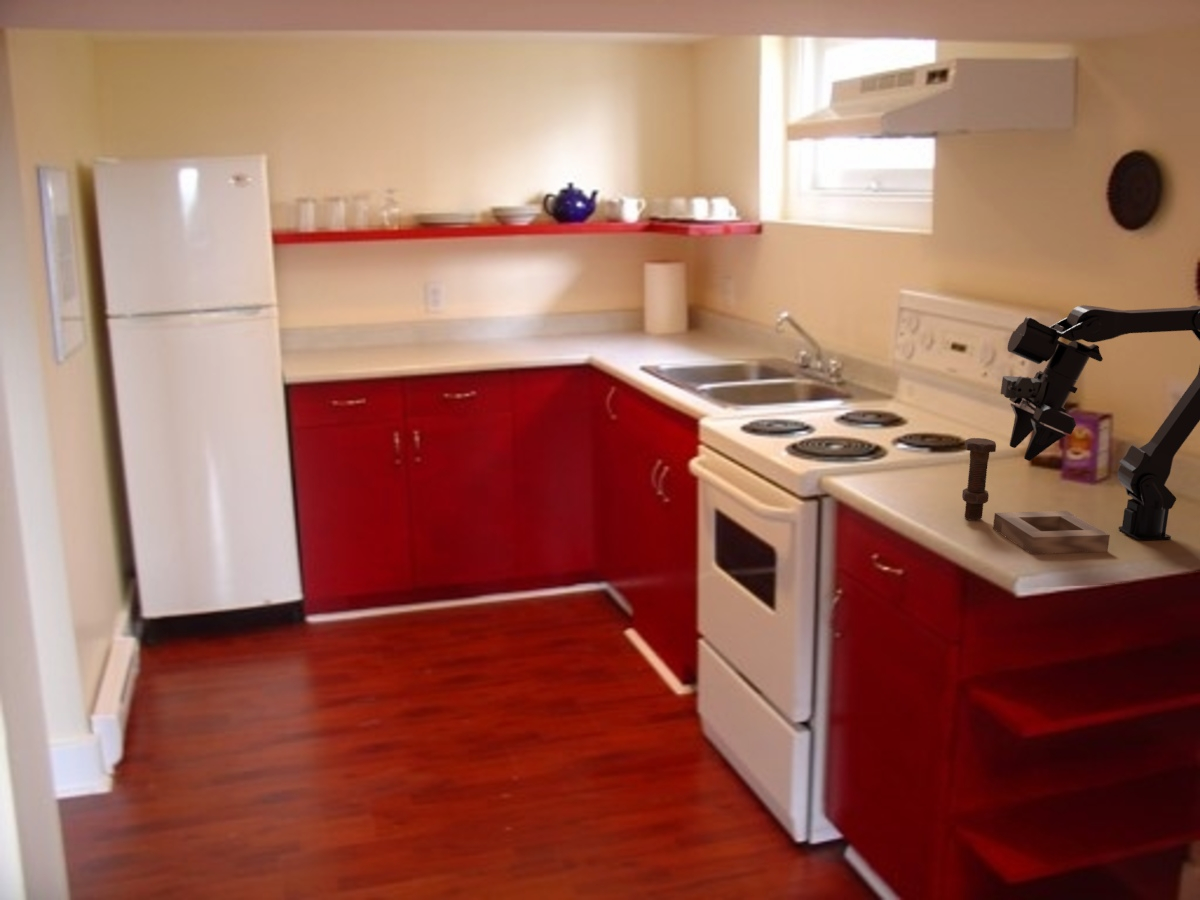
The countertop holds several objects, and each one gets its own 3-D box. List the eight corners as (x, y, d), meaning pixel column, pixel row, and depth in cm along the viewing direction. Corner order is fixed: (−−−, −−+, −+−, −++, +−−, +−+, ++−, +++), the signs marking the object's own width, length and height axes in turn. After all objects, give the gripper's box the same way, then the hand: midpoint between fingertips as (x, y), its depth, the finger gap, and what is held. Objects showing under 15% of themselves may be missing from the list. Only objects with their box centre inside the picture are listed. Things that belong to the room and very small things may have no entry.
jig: (1064, 526, 212) (1066, 510, 211) (1107, 551, 198) (1109, 534, 198) (993, 528, 210) (994, 512, 209) (1031, 554, 196) (1033, 537, 196)
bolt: (989, 524, 212) (997, 445, 208) (961, 522, 213) (968, 444, 209) (984, 515, 218) (992, 438, 214) (957, 513, 219) (964, 436, 215)
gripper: (1004, 347, 210) (965, 424, 214) (1035, 365, 192) (991, 448, 196) (1060, 371, 211) (1019, 447, 215) (1095, 391, 193) (1051, 473, 197)
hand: (1019, 453), depth 206 cm, fingers open, 9 cm apart
